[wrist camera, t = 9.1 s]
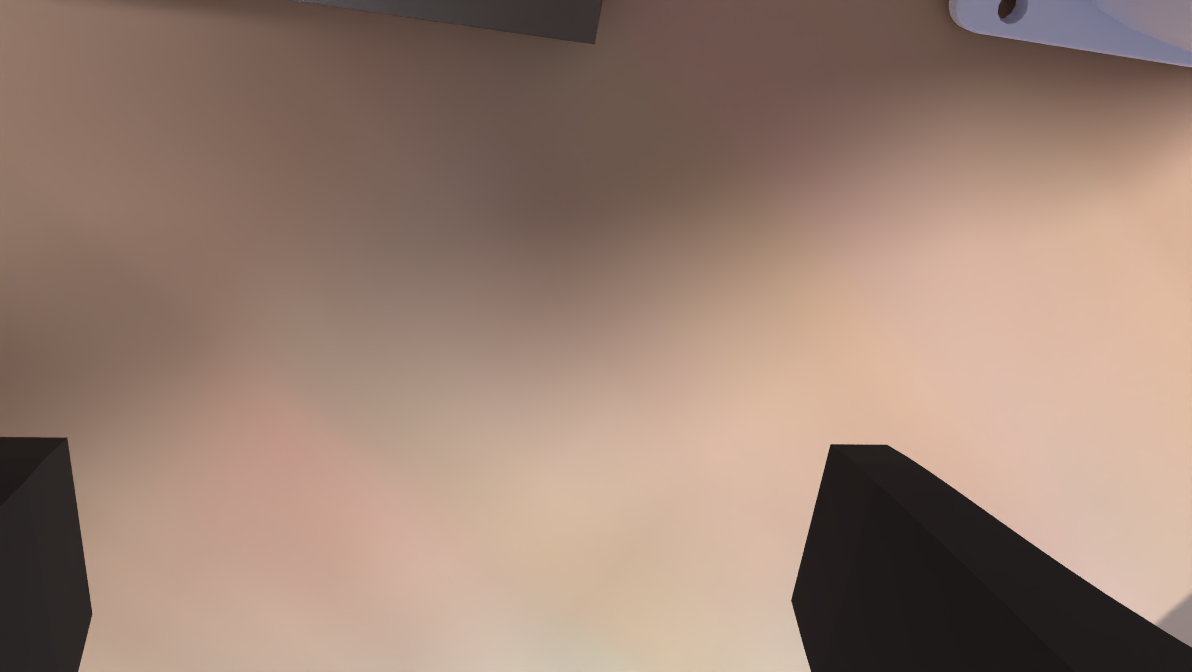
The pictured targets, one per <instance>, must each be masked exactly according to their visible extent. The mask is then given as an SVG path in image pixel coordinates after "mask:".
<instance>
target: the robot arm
mask: <svg viewBox="0 0 1192 672" xmlns="http://www.w3.org/2000/svg"><path fill="white" fill-rule="evenodd" d="M1001 1H1002V0H949V6H948V7H949V11H950V15H951V18H952V19H953V20H954V22H955V23H956V24H957V25H958V26H960V27H962V28H964V29H966V30H969V31H971V32H974V33H978V34H984V35H991V36H997V37H1003V38H1010V39H1016V40H1022V41H1028V42H1035V43H1041V44H1047V45H1054V46H1060V47H1066V48H1072V49H1079V50H1085V51H1091V52H1098V53H1104V54H1110V55H1116V56H1123V57H1129V58H1135V59H1142V60H1148V61H1154V62H1160V63H1167V64H1173V65H1179V66H1186V67H1192V0H1016V6H1015V7H1014V9H1013V11H1012V12H1011V14H1009V15H1008V16H1006V17H1005V18H1001V19H1000V18H999V16H998V6H999V4H1000V2H1001ZM791 601H792V605H793V608H794V612H795V616H796V620H797V623H798V627H799V631H800V634H801V638H802V642H803V646H804V649H805V653H806V656H807V659H808V663H809V666H810V669H811V672H1192V647H1190V646H1188V645H1186V644H1185V643H1183V642H1181V641H1180V640H1178V639H1176V638H1175V637H1173V636H1171V635H1170V634H1168V633H1167V632H1165V631H1163V630H1162V629H1160V628H1159V627H1157V626H1155V625H1154V624H1152V623H1151V622H1149V621H1148V620H1146V619H1144V618H1143V617H1141V616H1140V615H1138V614H1137V613H1135V612H1133V611H1132V610H1130V609H1129V608H1127V607H1125V606H1124V605H1122V604H1121V603H1119V602H1118V601H1116V600H1114V599H1113V598H1111V597H1110V596H1108V595H1106V594H1105V593H1103V592H1102V591H1100V590H1099V589H1097V588H1096V587H1094V586H1093V585H1091V584H1090V583H1088V582H1087V581H1085V580H1084V579H1082V578H1081V577H1079V576H1078V575H1076V574H1075V573H1073V572H1072V571H1071V570H1069V569H1068V568H1066V567H1065V566H1063V565H1062V564H1060V563H1059V562H1057V561H1056V560H1054V559H1053V558H1052V557H1050V556H1049V555H1047V554H1046V553H1044V552H1043V551H1041V550H1040V549H1039V548H1037V547H1036V546H1034V545H1033V544H1031V543H1030V542H1029V541H1027V540H1026V539H1024V538H1023V537H1021V536H1020V535H1019V534H1017V533H1016V532H1014V531H1013V530H1012V529H1010V528H1009V527H1007V526H1006V525H1004V524H1003V523H1002V522H1000V521H999V520H997V519H996V518H995V517H993V516H992V515H990V514H989V513H988V512H986V511H985V510H983V509H982V508H981V507H979V506H978V505H976V504H975V503H973V502H972V501H971V500H969V499H968V498H966V497H965V496H964V495H962V494H961V493H959V492H958V491H957V490H955V489H954V488H952V487H951V486H950V485H948V484H947V483H945V482H944V481H942V480H941V479H939V478H938V477H937V476H935V475H934V474H932V473H931V472H929V471H928V470H926V469H925V468H923V467H922V466H920V465H919V464H917V463H916V462H914V461H913V460H911V459H910V458H908V457H907V456H905V455H903V454H902V453H900V452H898V451H897V450H895V449H893V448H892V447H890V446H888V445H845V444H831V445H830V449H829V453H828V457H827V461H826V465H825V468H824V472H823V476H822V480H821V484H820V488H819V492H818V496H817V500H816V504H815V508H814V512H813V516H812V520H811V524H810V528H809V532H808V536H807V540H806V544H805V548H804V552H803V556H802V560H801V564H800V568H799V572H798V576H797V580H796V584H795V588H794V592H793V596H792V600H791ZM91 617H92V608H91V601H90V594H89V587H88V580H87V573H86V566H85V559H84V552H83V545H82V538H81V531H80V524H79V517H78V510H77V503H76V496H75V489H74V482H73V475H72V468H71V461H70V454H69V447H68V440H67V438H40V437H0V672H78V670H79V666H80V662H81V658H82V654H83V649H84V645H85V641H86V637H87V633H88V629H89V625H90V621H91Z"/></svg>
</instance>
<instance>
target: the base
mask: <svg viewBox="0 0 1192 672" xmlns="http://www.w3.org/2000/svg"><path fill="white" fill-rule="evenodd" d="M292 1H299V2H306V3H313V4H320V5H326V6H333V7H340V8H347V9H354V10H361V11H368V12H375V13H382V14H389V15H396V16H403V17H410V18H416V19H423V20H430V21H437V22H444V23H451V24H458V25H465V26H472V27H479V28H486V29H493V30H499V31H506V32H513V33H520V34H527V35H534V36H541V37H548V38H555V39H562V40H569V41H576V42H583V43H589V44H595V39H596V33H597V27H598V21H599V16H600V10H601V4H602V0H292Z"/></svg>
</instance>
